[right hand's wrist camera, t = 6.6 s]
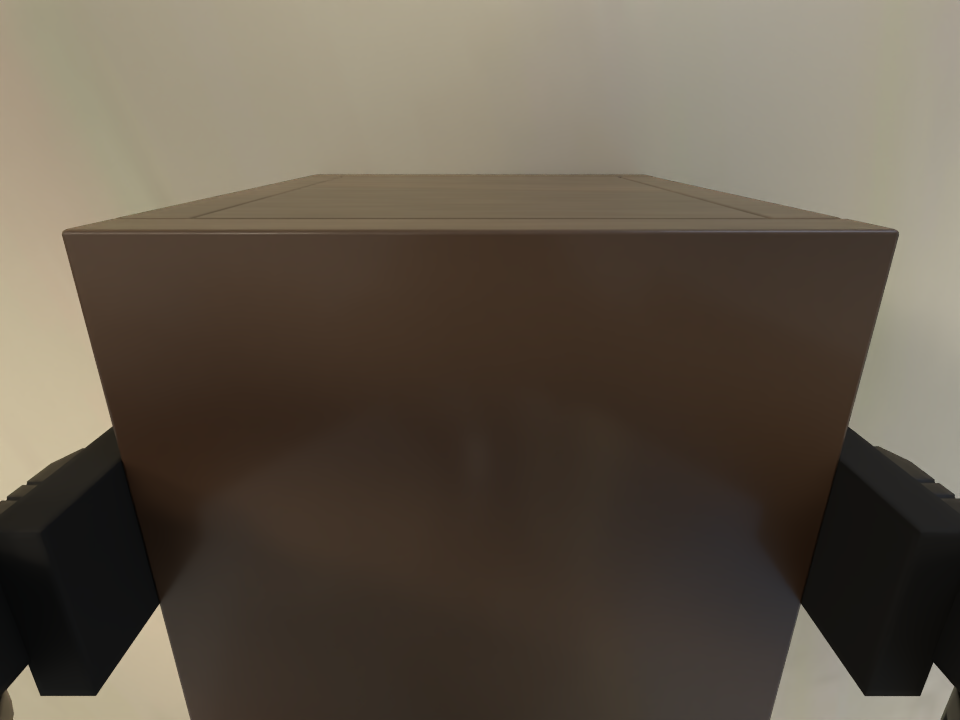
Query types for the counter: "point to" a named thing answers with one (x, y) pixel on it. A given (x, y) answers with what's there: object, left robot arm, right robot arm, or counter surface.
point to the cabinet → (480, 438)
